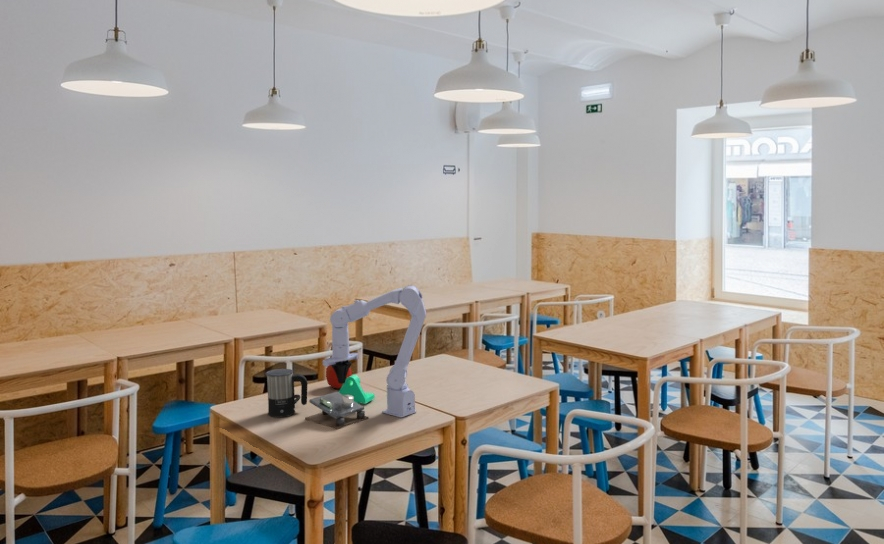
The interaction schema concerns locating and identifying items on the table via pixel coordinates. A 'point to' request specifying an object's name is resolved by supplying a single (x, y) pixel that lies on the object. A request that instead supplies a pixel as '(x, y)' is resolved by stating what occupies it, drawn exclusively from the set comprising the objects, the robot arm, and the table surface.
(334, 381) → the apple
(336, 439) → the table surface
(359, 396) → the camera mount
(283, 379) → the milk frother
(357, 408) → the level plate
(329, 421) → the stand base
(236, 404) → the table surface
